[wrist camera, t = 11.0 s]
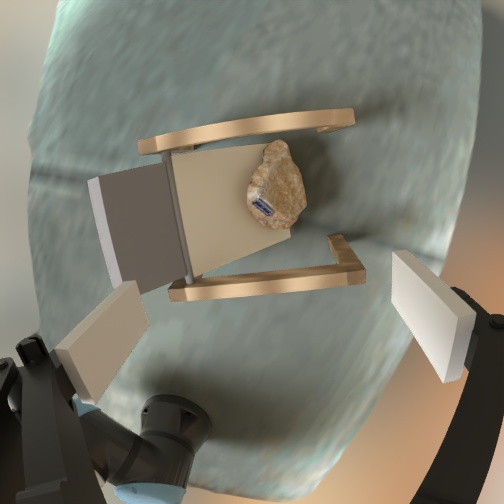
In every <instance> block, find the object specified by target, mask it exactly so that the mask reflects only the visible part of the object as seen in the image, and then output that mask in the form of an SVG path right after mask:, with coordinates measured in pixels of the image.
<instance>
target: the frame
mask: <svg viewBox="0 0 504 504" xmlns="http://www.w3.org/2000/svg"><path fill="white" fill-rule="evenodd" d="M353 124H355V118H354V111H353V108H348V109H330V110H316V111H304V112H294V113H285V114H276V115H268V116H260V117H253V118H246V119H240V120H234V121H227V122H222V123H216V124H211V125H205V126H200V127H195V128H190V129H186V130H181V131H176V132H172V133H167V134H163V135H159V136H155V137H151V138H147V139H143V140H139V141H138V148H139V154H140V155H150V154H161V153H164V152H169V151H171V153H183V152H188V151H193V150H194V145H197V144H202V143H207V142H213V141H219V140H225V139H231V138H237V137H244V136H250V135H257V134H265V133H273V132H281V131H290V130H300V129H310V128H316V131H317V133H327V132H333V131H336V130H339V129H341V128H344V127H347V126H350V125H353ZM328 246H329V248H330V250H331V252H332V254H333V256H334V258H335V260H336V262H337V264H334V265H326V266H317V267H308V268H298V269H289V270H279V271H270V272H260V273H250V274H240V275H230V276H219V277H208V278H201V277H202V276H203V274H202V275H199V276H197V277H195V282H194V283H192V284H187V283H186V279H185V277H183V278H180V279H178V280H176V281H174V282H173V283H172V285H171V286H170V287H169V288H168V293H169V297H170V301H171V302H177V301H192V300H206V299H219V298H231V297H243V296H254V295H265V294H275V293H286V292H295V291H305V290H314V289H323V288H331V287H340V286H348V285H356V284H364V283H366V269H365V268H364V266H363V265H362V263H361V262H360V260H359V259H358V257H357V256H356V255H355V253H354V252H353V250H352V249H351V247H350V246H349V244H348V243H347V242H346V240H345V239H344V237H343V236H342V235H341V234H338V235H328Z"/></svg>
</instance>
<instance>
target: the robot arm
mask: <svg viewBox="0 0 504 504" xmlns="http://www.w3.org/2000/svg"><path fill="white" fill-rule="evenodd" d="M391 302H392V303H393V305H394V306H395V308H396V309H397V311H398V312H399V314H400V315H401V317H402V318H403V320H404V321H405V323H406V324H407V326H408V327H409V329H410V330H411V332H412V333H413V335H414V337H415V338H416V340H417V341H418V343H419V344H420V346H421V347H422V349H423V351H424V352H425V354H426V356H427V357H428V359H429V361H430V362H431V364H432V365H433V367H434V369H435V370H436V372H437V373H438V375H439V377H440V379H441V381H442V382H443V383H447V382H451V381H454V380H457V379H460V378H461V375H462V372H463V369H464V365H465V367H466V368H467V370H468V371H469V374H468V377H467V380H466V383H465V386H464V389H463V392H462V395H461V398H460V400H459V404H458V406H457V409H456V412H455V414H454V416H453V419H452V421H451V424H450V426H449V428H448V431H447V433H446V435H445V438H444V440H443V442H442V444H441V446H440V449H439V451H438V453H437V455H436V457H435V459H434V461H433V463H432V465H431V467H430V469H429V471H428V473H427V475H426V476H425V478H424V480H423V482H422V484H421V485H420V487H419V489H418V491H417V492H416V494H415V496H414V497H413V499H412V501H411V502H410V504H476V503H477V500H478V498H479V495H480V493H481V490H482V487H483V484H484V482H485V479H486V476H487V474H488V471H489V468H490V465H491V461H492V458H493V455H494V452H495V448H496V444H497V441H498V437H499V433H500V429H501V425H502V421H503V416H504V315H501V314H491V315H490V314H489V313H487V312H486V311H485V310H484V309H483V308H482V307H481V306H480V305H479V304H478V303H477V302H476V303H475V301H474V300H473V299H472V298H470V296H469V295H468V294H467V293H466V292H464V291H463V290H460V289H458V288H456V287H449V286H447V285H446V284H445V283H444V282H443V281H442V280H441V279H440V278H439V277H437V276H436V275H435V274H434V273H433V272H432V271H431V270H430V269H428V268H427V267H426V266H425V265H424V264H423V263H422V262H420V261H419V260H418V259H417V258H416V257H414V256H413V255H412V254H411V253H410V252H409V251H407V250H399V251H392V299H391ZM148 327H149V322H148V319H147V316H146V313H145V309H144V306H143V303H142V300H141V296H140V293H139V289H138V286H137V282H136V280H133V281H124V282H123V283H122V284H120V285H119V286H118V287H117V288H116V289H115V290H114V291H113V292H112V293H111V294H110V295H109V296H107V297H106V298H105V299H104V300H103V301H102V302H101V303H100V304H99V305H98V306H97V307H96V308H95V309H94V310H93V311H92V312H91V313H90V314H88V315H87V316H86V317H85V318H84V319H83V320H82V321H81V322H80V323H79V324H78V325H77V326H76V327H75V328H74V329H73V330H72V331H71V332H70V333H69V334H68V335H67V336H66V337H65V338H64V339H63V340H62V341H61V342H60V343H59V344H58V345H57V346H56V347H55V348H54V349H53V350H52V351H51V352H50V353H48V351H47V349H46V347H45V344H44V342H43V340H42V338H41V336H39V335H34V336H30V337H27V338H25V339H23V340H22V341H20V342H19V343H18V344H17V346H16V350H17V352H18V354H19V356H20V358H21V360H22V362H23V364H24V366H22V367H17V366H16V365H15V363H14V361H13V359H12V358H10V357H9V358H4V359H3V358H2V359H0V504H107V503H106V500H105V498H104V495H103V493H102V490H101V487H103V486H104V484H105V482H106V481H107V482H109V483H111V484H113V485H114V486H116V487H115V494H116V496H117V497H118V498H120V499H121V500H122V501H124V502H125V503H128V504H181V502H182V499H183V496H184V494H185V493H186V487H187V483H188V479H189V475H190V471H191V468H192V464H193V460H194V456H195V454H196V452H197V451H198V450H199V449H200V447H201V446H202V445H203V444H204V442H205V441H206V440H207V438H208V436H209V433H210V430H211V421H210V419H209V417H208V415H207V414H206V413H205V412H204V411H203V410H202V409H201V408H200V407H198V406H197V405H195V404H194V403H192V402H190V401H188V400H186V399H183V398H180V397H176V396H171V395H158V396H154V397H152V398H150V399H149V400H147V402H146V403H145V405H144V407H143V409H142V413H141V433H140V436H138V435H137V434H135V433H134V432H132V431H131V430H129V429H127V428H126V427H124V426H123V425H121V424H120V423H118V422H117V421H115V420H114V419H112V418H111V417H109V416H108V415H107V414H105V413H104V412H102V411H101V409H100V408H98V407H95V406H94V405H96V404H97V403H98V401H99V400H100V398H101V397H102V395H103V394H104V392H105V390H106V389H107V387H108V386H109V384H110V383H111V381H112V380H113V378H114V377H115V375H116V374H117V372H118V371H119V369H120V368H121V366H122V365H123V363H124V362H125V360H126V359H127V357H128V356H129V354H130V353H131V352H132V350H133V349H134V347H135V346H136V344H137V343H138V341H139V340H140V338H141V337H142V335H143V334H144V333H145V331H146V330H147V328H148ZM75 393H77V395H78V396H79V398H77V399H74V400H73V398H72V397H73V395H74V394H75ZM8 401H9V403H10V404H11V406H12V407H13V409H12V410H11V409H10V407H9V404H8ZM92 404H93V405H92Z"/></svg>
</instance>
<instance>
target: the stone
mask: <svg viewBox="0 0 504 504" xmlns="http://www.w3.org/2000/svg"><path fill="white" fill-rule="evenodd" d="M263 159H264V161H263V164H261V165H260V166H259V167H258V168H257V169H256V170H255V171H254V172H253V173H252V176H251V182H250V184H249V187H248V190H247V205H248V208H249V210H250V211H251V212H252V215H253V216H254V217H255V218H256V219H257V220H258V221H259V222H260V223H262V224H263V225H264V226H265V227H267V228H268V229H273V230H274V229H288V228H290V227H291V226H292V224H294V223H295V222H296V221H297V219H298V216H299V214H300V213H301V212H302V211H303V210H304V209H305V207H306V206H307V203H306V194H305V188H304V185H303V180H302V175H301V173H300V172H299V168H298V167H297V166H296V165H295V163H294V162H293V160H292V157H291V155H290V150H289V146H288V145H287V144H286V143H285V142H284V141H282V140H280V139H279V140H275V141H272V142H271V143H270V144H268V145H267V146H266V147H265V148H264V150H263Z"/></svg>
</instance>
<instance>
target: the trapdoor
mask: <svg viewBox="0 0 504 504" xmlns="http://www.w3.org/2000/svg"><path fill="white" fill-rule="evenodd" d="M268 144H270V143H266V144H255V145H246V146H237V147H229V148H221V149H214V150H207V151H200V152H193V153H187V154H181V155H175V156H172V155H171V151H169V152H164V153H161V155H162V161H163V163H158V164H153V165H148V166H143V167H138V168H134V169H129V170H124V171H120V172H116V173H111V174H107V175H103V176H99V177H96V178H93V179H91V180H88V186H89V192H90V197H91V202H92V207H93V211H94V216H95V220H96V225H97V229H98V233H99V237H100V242H101V245H102V249H103V253H104V257H105V261H106V264H107V268H108V271H109V275H110V278H111V282H112V285H113V288H114V289H116V288H117V287H118V286H119V285H120V284H122V283H123V282H124V281H133V280H136V282H137V286H138V289H139V293H140V295H141V294H144V293H146V292H149V291H151V290H154V289H156V288H158V287H161V286H163V285H166V284H168V283H171V282H173V281H176V280H178V279H180V278H183V277H185V279H186V283H187V284H192V283H194V282H195V277H197V276H199V275H202V274H204V273H206V272H209V271H211V270H214V269H216V268H218V267H221V266H223V265H226V264H228V263H230V262H233V261H235V260H238V259H240V258H242V257H245V256H247V255H250V254H252V253H254V252H257V251H259V250H262V249H264V248H266V247H269V246H271V245H274V244H276V243H278V242H281V241H283V240H286V239H288V238H290V228H288V229H274V230H273V229H268V228H267V227H265V226H264V225H263V224H262V223H260V222H259V221H258V220H257V219H256V218H255V217H254V216H253V215H252V212H251V211H250V210H249V208H248V205H247V190H248V187H249V184H250V182H251V176H252V173H253V172H254V171H255V170H256V169H257V168H258V167H259V166H260V165H261V164H263V161H264V159H263V150H264V148H265V147H266V146H267V145H268Z"/></svg>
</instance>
